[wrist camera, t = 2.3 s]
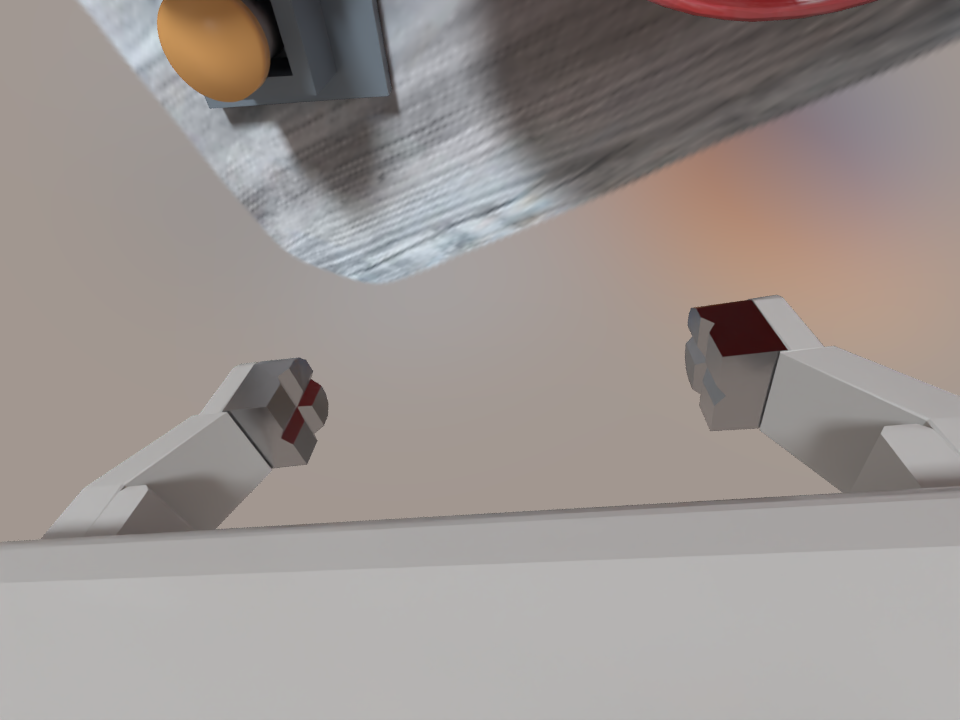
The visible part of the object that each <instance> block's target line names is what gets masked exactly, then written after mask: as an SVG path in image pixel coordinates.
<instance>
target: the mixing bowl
mask: <svg viewBox="0 0 960 720" xmlns="http://www.w3.org/2000/svg"><path fill="white" fill-rule="evenodd" d="M648 1H650V2H653V3H655V4H658V5H661V6H663V7H666V8H670V9H674V10H677V11H681V12H684V13H688V14H692V15H696V16H703V17H709V18H716V19H722V20H734V21H748V22H757V21H774V20H787V19H799V18H807V17H812V16H817V15H822V14H827V13H833V12H838V11H842V10H845V9H849V8H853V7H856V6H860V5H864V4H867V3H871V2H874V1H877V0H648Z"/></svg>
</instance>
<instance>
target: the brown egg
mask: <svg viewBox="0 0 960 720" xmlns="http://www.w3.org/2000/svg"><path fill="white" fill-rule="evenodd" d="M157 29H158V35H159V39H160V43H161V46H162V48H163V51H164V53H165V55H166V57H167V59H168V61H169V62H170V64H171V65H172V67H173V68H174V70H175V71H176V72H177V74H178V75H179V76H180V77H181V78H182V79H183V80H184V81H185V82H186V83H187V84H188V85H189V86H191V87H192V88H193V89H194V90H196V91H197V92H199V93H201V94H202V95H204V96H206V97H208V98H211V99H213V100H217V101H221V102H237V101H240V100H243V99H245V98H247V97H248V96H250V95H251V94H252V93H253V92H255V91H256V90H257V89H258V88H260V87H261V86H262V84H263V83H264V82H265V80H266V78H267V76H268V73H269V69H270V59H271V58H273V57H274V56H276V55H277V54H278V53H280V52H281V50H282V49H283V47H284V44H283V41H282V37H281V34H280V31H279V27H278V24H277V21H276V17H275V14H274V11H273V7H272V4H271V1H270V0H163V1H162V3H161V6H160V8H159V12H158V17H157Z"/></svg>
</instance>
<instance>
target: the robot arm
mask: <svg viewBox="0 0 960 720" xmlns="http://www.w3.org/2000/svg"><path fill="white" fill-rule="evenodd" d="M688 328H689V330H690V332H691V334H692V338H691V339H690V340H689V341H688V342H687V343H686V349H685V363H686V371H687V375H688V379H689V382H690V384H691V387H692V389H693V390H695V391H696V392H698V393H700V394H701V396H700V404H699V405H700V408H701V410H702V413H703V415H704V417H705V420H706V422H707V424H708V426H709V429H710V431H719V430H736V429H754V428H760V431H761V432H763V433H764V434H765V435H767V436H768V437H769V438H771V439H772V440H773V441H775V442H776V443H777V444H779V445H780V446H781V447H783V448H784V449H785V450H787V451H788V452H789V453H791V454H792V455H793V456H795V457H796V458H797V459H799V460H800V461H801V462H803V463H804V464H805V465H807V466H808V467H809V468H811V469H812V470H813V471H815V472H816V473H817V474H819V475H820V476H821V477H823V478H824V479H825V480H827V481H828V482H829V483H831V484H832V485H833V486H835V487H836V488H838V489H839V490H840V491H841V492H843V493H834V494H818V495H799V496H782V497H764V498H747V499H731V500H714V501H697V502H680V503H679V502H678V503H661V504H643V505H626V506H609V507H594V508H593V507H592V508H574V509H557V510H540V511H523V512H505V513H489V514H472V515H455V516H438V517H420V518H403V519H385V520H369V521H352V522H333V523H316V524H300V525H282V526H264V527H249V528H248V527H247V528H230V529H216V528H217V527H218V526H219V525H220V524H221V523H222V522H223V521H224V520H225V518H227V517H228V515H229V514H230V513H231V512H232V511H233V510H234V509H235V508H236V507H237V506H238V505H239V504H240V503H241V502H242V501H243V500H244V499H245V498H246V497H247V496H248V495H249V494H250V493H251V492H252V491H253V490H254V489H255V488H256V487H257V486H258V484H259V483H260V482H261V481H262V480H263V479H264V478H265V477H266V476H267V475H268V474H269V473H270V472H271V471H272V468H280V467H289V466H298V465H307V463H308V461H309V459H310V456H311V454H312V452H313V450H314V447H315V445H316V443H317V439H316V437H315V433H316V432H317V431H318V430H319V429H320V428H322V427H323V426H324V424H325V421H326V419H327V416H328V400H327V397H326V393H325V391H324V390H323V388H322V386H321V385H319V384H318V383H316V382H314V381H313V380H312V379H311V377H312V373H313V370H312V369H311V367H310V366H309V364H308V362H307V361H306V360H304V359H301V358H290V359H281V360H271V361H262V362H254V363H246V364H240V365H238V366H235V367H234V368H233V369H232V370H231V372H230V373H229V375H228V376H227V377H226V379H225V380H224V381H223V383H222V384H221V386H220V387H219V388H218V389H217V391H216V392H215V394H214V395H213V396H212V398H211V399H210V400H209V402H208V403H207V405H206V406H205V407H204V409H203V410H202V411H201V413H200V414H199V415H194V416H191V417H190V418H188V419H187V420H185V421H184V422H183V423H181V424H179V425H178V426H176V427H175V428H173V429H172V430H170V431H169V432H167V433H166V434H164V435H163V436H161V437H160V438H158V439H157V440H155V441H154V442H152V443H151V444H149V445H148V446H146V447H145V448H143V449H142V450H140V451H139V452H137V453H136V454H134V455H133V456H131V457H130V458H128V459H127V460H125V461H124V462H122V463H121V464H119V465H118V466H116V467H115V468H113V469H112V470H110V471H109V472H107V473H106V474H104V475H103V476H101V477H100V478H98V479H97V480H95V481H94V482H92V483H91V484H89V485H88V486H86V487H85V488H84V489H83V490H82V491H81V492H80V493H79V494H78V496H77V497H76V498H75V499H74V500H73V501H72V503H71V504H70V505H69V506H68V507H67V509H66V510H65V511H64V512H63V513H62V514H61V516H60V517H59V518H58V519H57V520H56V522H55V523H54V524H53V525H52V526H51V527H50V529H49V530H48V531H47V532H46V534H45V535H44V536H43V537H42V538H41V539H40V540H26V541H25V540H24V541H7V542H0V720H960V396H958V395H955V394H953V393H950V392H948V391H945V390H943V389H940V388H938V387H935V386H933V385H930V384H928V383H925V382H923V381H920V380H918V379H915V378H913V377H910V376H908V375H905V374H903V373H900V372H898V371H896V370H893V369H890V368H888V367H886V366H883V365H881V364H878V363H876V362H873V361H871V360H868V359H866V358H863V357H861V356H858V355H856V354H853V353H851V352H848V351H846V350H843V349H841V348H838V347H835V346H828V347H824V346H823V344H822V343H821V342H820V341H819V340H818V338H817V337H816V336H815V335H814V334H813V333H812V331H811V330H810V329H809V328H808V327H807V325H806V324H805V323H804V322H803V321H802V320H801V318H800V317H799V316H798V315H797V314H796V312H795V311H794V310H793V309H792V308H791V306H790V305H789V304H788V303H787V302H786V301H785V299H784V298H783V297H781V296H779V295H773V296H766V297H760V298H753V299H748V300H745V301H737V302H730V303H723V304H716V305H709V306H701V307H694V308H691V310H690V312H689V317H688Z"/></svg>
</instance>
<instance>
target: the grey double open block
mask: <svg viewBox="0 0 960 720" xmlns="http://www.w3.org/2000/svg"><path fill="white" fill-rule="evenodd" d="M270 1H271V4H272V7H273V11H274V14H275V17H276V21H277V24H278V27H279V31H280V34H281V37H282V41H283V44H284V47H283V49H282V50H281V52H280V53H278V54H277V55H276V56H274V57H273V58H271V59H270V69H269V73H268V76H267V78H266V80H265V82H264V83H263V84H262V86H261V87H260V88H258V89H257V90H256V91H255V92H253V93H252V94H251V95H250V96H248V97H247V98H245V99H243V100H240V101H237V102H221V101H217V100H213V99H211V98H208V97H206V96H205V99H206V101H207V103H208V106H209V108H210V109H211V108H225V107H239V106H253V105H267V104H281V103H296V102H310V101H324V100H338V99H352V98H366V97H380V96H389V94H390V92H391V90H392V88H391V82H390V76H389V71H388V65H387V59H386V53H385V48H384V42H383V36H382V30H381V25H380V19H379V13H378V7H377V2H376V0H270Z"/></svg>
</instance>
